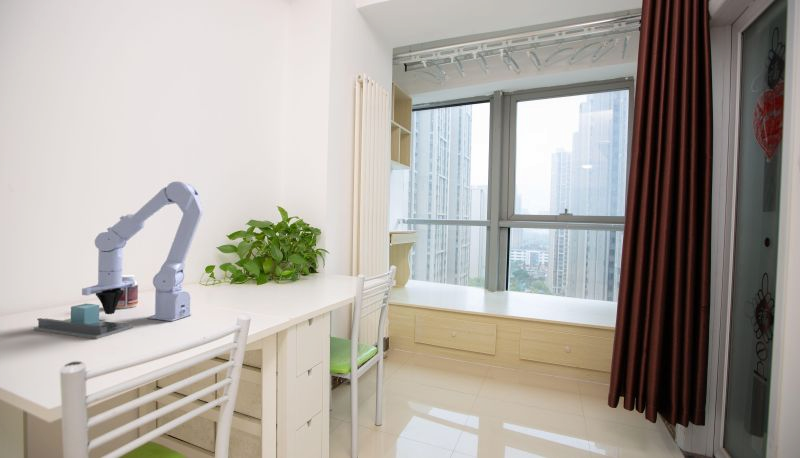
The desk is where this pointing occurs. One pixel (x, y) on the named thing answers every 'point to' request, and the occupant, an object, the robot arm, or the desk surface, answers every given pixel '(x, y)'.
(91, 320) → the block
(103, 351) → the desk surface
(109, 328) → the rail board
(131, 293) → the pill bottle
